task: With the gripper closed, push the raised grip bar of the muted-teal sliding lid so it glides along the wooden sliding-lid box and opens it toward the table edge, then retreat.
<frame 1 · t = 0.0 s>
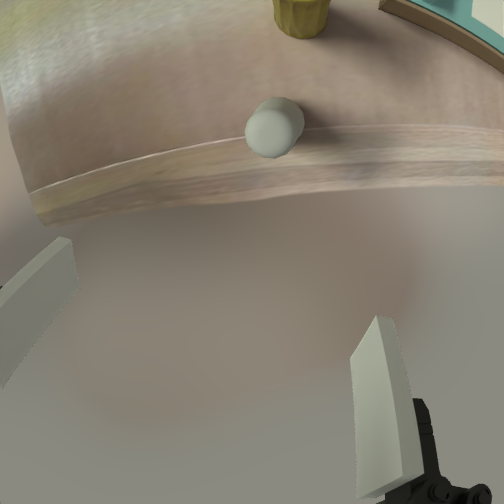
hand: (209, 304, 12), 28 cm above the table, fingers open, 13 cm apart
wooden sliding-lid box: (454, 5, 20), on the table
salt shaker: (279, 119, 33), on the table
vase: (300, 17, 26), on the table
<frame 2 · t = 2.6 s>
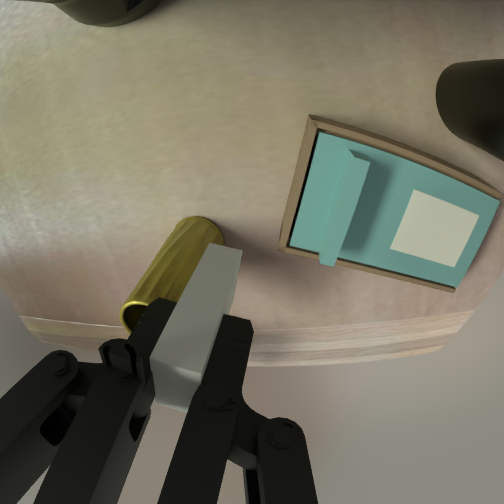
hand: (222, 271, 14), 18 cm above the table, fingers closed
water bottle: (468, 101, 21), on the table
wooden sliding-lid box: (387, 198, 28), on the table
lid: (410, 226, 23), point 6 cm above the table, slide at 0.0 cm
vase: (199, 239, 34), on the table
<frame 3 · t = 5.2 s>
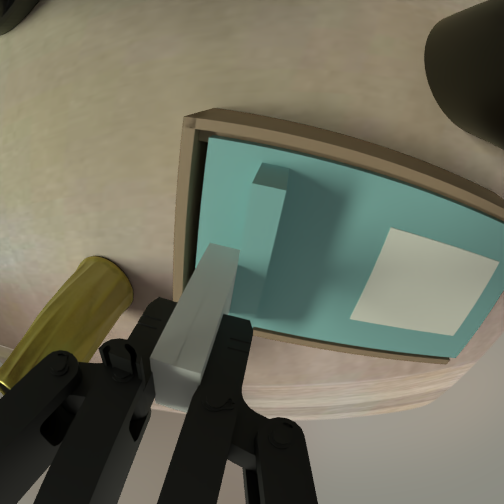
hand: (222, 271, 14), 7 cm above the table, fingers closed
water bottle: (476, 74, 12), on the table
wooden sliding-lid box: (349, 230, 19), on the table
lid: (381, 292, 14), point 6 cm above the table, slide at 0.4 cm, touching gripper
vase: (107, 282, 26), on the table
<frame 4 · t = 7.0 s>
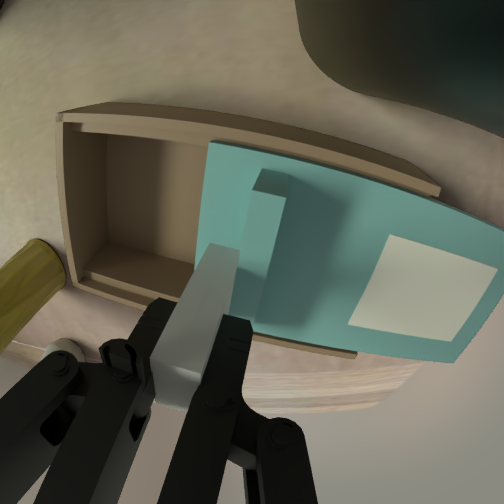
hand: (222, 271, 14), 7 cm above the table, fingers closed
water bottle: (370, 30, 13), on the table
wooden sliding-lid box: (233, 207, 20), on the table
salt shaker: (73, 347, 33), on the table
lid: (379, 298, 14), point 6 cm above the table, slide at 8.3 cm, touching gripper
vase: (46, 263, 26), on the table
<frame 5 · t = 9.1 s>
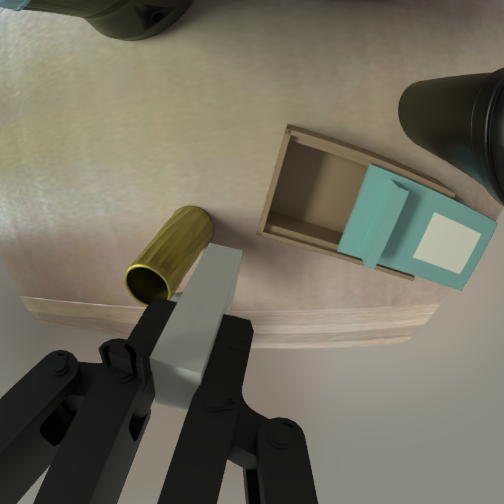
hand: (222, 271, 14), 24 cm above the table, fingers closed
water bottle: (429, 114, 28), on the table
wooden sliding-lid box: (353, 196, 35), on the table
lid: (430, 240, 29), point 6 cm above the table, slide at 8.3 cm
vase: (192, 226, 40), on the table
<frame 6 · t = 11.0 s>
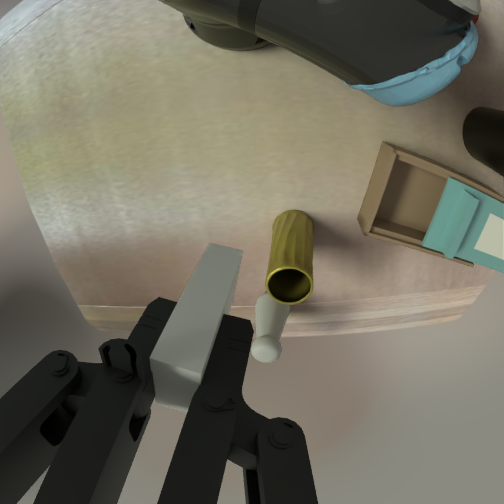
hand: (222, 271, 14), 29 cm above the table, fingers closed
water bottle: (483, 134, 32), on the table
wooden sliding-lid box: (428, 200, 38), on the table
salt shaker: (274, 297, 52), on the table
lid: (487, 235, 33), point 6 cm above the table, slide at 8.3 cm
vase: (293, 228, 45), on the table
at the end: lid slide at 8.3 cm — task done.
